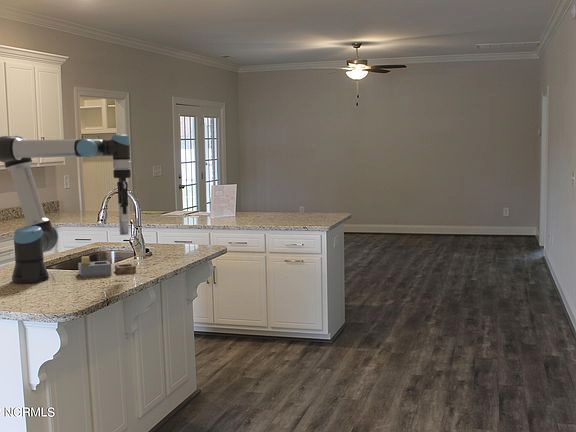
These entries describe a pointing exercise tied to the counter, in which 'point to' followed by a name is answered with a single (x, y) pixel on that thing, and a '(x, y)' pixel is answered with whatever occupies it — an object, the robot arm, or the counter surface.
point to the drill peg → (123, 223)
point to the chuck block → (95, 269)
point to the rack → (125, 269)
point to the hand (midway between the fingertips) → (123, 220)
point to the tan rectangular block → (85, 260)
